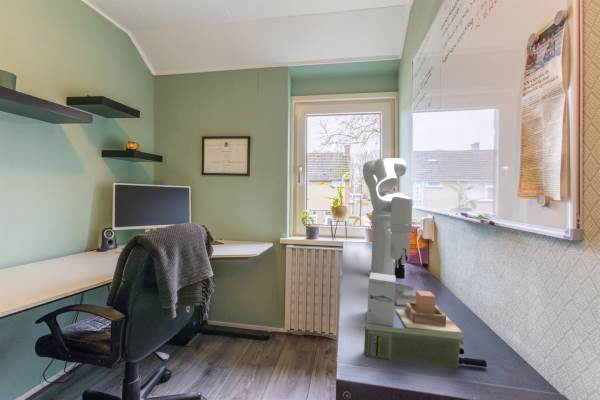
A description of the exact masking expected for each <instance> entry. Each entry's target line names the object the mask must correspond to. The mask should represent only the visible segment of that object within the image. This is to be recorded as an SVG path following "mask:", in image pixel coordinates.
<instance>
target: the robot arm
mask: <svg viewBox="0 0 600 400" xmlns="http://www.w3.org/2000/svg"><path fill="white" fill-rule="evenodd" d="M406 173H407V163H406V160H404V159H403V158H400V157H399V158H398V157H381V158H378V159H376V160H369V161H366V162H364V164H363V166H362V174H363V176H362V177H363V180H364V182H365V184H366V186H367V188H368V190H369V192H368V193H369V197H370V202H371V206H372V209H373V210H372V211H371V214H370V219H371V230H372V232H371V233H372V235H371V236H372V238H371V239H372V240H371V241H372V242H371V262H370V263H371V265H370V267H371V268H370V270H368V271H367V275H368V276H369V277H370V273H371V272H372V273H379V274H386V275H394V276H396V279H399V280H404V279H405V274H406V272H405V271H406V265H407V263H406V262H408V261H409V260H410V253H411V252H410V248H411V247H410V234H412V231H413V230H412V228H413V227H412V225H413V220H412V218H413V215H412V214H413V199H412V198H411V196H405V194H404V193H402V192H401V191H396V190H395V191H392V189H395V188H396V187H397V185H398V184H399V183H398V182H399V180H398V178H399V177H404V176H405V174H406ZM393 269H394V271H393Z"/></svg>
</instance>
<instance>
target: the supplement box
mask: <svg viewBox="0 0 600 400" xmlns="http://www.w3.org/2000/svg"><path fill="white" fill-rule="evenodd" d="M396 280H397V278H396V276H394V275H386V274H379V273H372V272H371V273H370V276H369V277H368V289H367V290H368V293H367V310H366V311H367V312H366V313H367V314H366V322H367V323H373V324H379V325H383V326H388V327H394V324H395V323H394V322H395V284H397V283H396Z"/></svg>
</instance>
